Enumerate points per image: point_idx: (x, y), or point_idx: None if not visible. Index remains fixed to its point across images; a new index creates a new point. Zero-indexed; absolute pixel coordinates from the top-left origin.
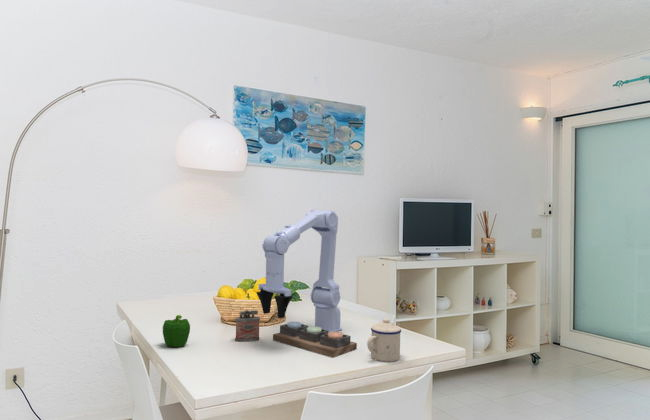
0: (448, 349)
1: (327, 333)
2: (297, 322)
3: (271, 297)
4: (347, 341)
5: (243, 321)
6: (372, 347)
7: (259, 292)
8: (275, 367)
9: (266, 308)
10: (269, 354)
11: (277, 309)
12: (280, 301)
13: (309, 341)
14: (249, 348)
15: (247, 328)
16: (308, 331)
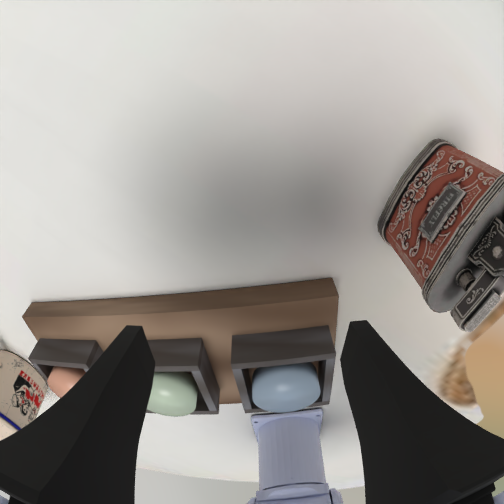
0: None
1: None
2: (288, 407)
3: (367, 485)
4: None
5: (479, 201)
6: (5, 373)
7: (485, 485)
8: (5, 83)
9: (359, 373)
10: (144, 135)
11: (107, 379)
12: (13, 441)
13: None
14: (300, 107)
15: (437, 201)
16: (159, 375)
